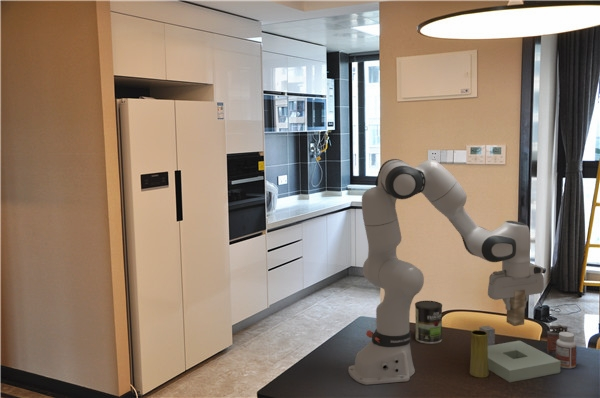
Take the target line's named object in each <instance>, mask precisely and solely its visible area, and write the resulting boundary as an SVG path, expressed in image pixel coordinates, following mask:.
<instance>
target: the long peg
mask: <svg viewBox="0 0 600 398" xmlns="http://www.w3.org/2000/svg"><path fill="white" fill-rule="evenodd" d="M509 303H510V305H513V307H512V310H506V323H508V324H510V325H512V326H513V327H516V326H524V325H525V310H526V308H525V290H520V291H514V297H512V298H510V301H509Z"/></svg>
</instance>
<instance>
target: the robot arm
mask: <svg viewBox="0 0 600 398" xmlns="http://www.w3.org/2000/svg"><path fill="white" fill-rule="evenodd" d="M378 170H379V171H378V174H377V176H376V180H375V182H374V183H375V186H373V187H371V188H367V190H366V191H365V192H363V194H362V196H361V211H362V213H361V214H362V219H363V224H364V228H365V235H366V239H367V245H368V246H367V247H368V250H367V258H366V259H365V261H364V263H363V265H362V273H363V276H364V278H365V280H367V281H369V282H370V283H371V284H372V285H373V286H375V287H377V288H380V289H383V292H384V295H383V300H382V302H380V303H379V304H378V305H377V306H376V309H375V315H376V316H375V318H376V321H375V322H376V324H375V325H376V329H375V331H374V332H373V331H371V330H367V331H366V336H367V337H368V338H370V339H371V341H369V343H367V345H365V346H364V347H363V348H362V349H361V350H358V352H357V353H356V356H355V358H354V359H355V360H354V364H353V365H350V366H348V369H347V370H348V371H347V373H348V375H350V377H351V378H352V379H353V380H354V381H356V382H357V383H360V384H361V385H367V386H369V385H377V384H389V383H402V382H409V380H410V378H411V377H412V376H413V375H414V374H415V372H416V369H415V367H414V363H413V358H412V351H411V350H412V349H411V344H412V334H411V333H412V332H411V329H410V315H411V314H410V311H411V305H412V302H413V300H414V297H415V296H416V295H418V294H419V293H420V292H421V291H422V289H423V286H424V282H425V276H424V274H423V271H422V270H421V269H419V268H418V267H417V266H416V265H414V264H412V263H410V262H408V261H404V260H401V259H399V257H398V256H397V247H398V246H399V245H400V243H402V233H401V228H400V223H399V218H398V214H397V210H396V204H397V203H396V202H397V200H408V199H410V198H412V197H414V196H415V195H419V194H420V193H421V194H423V196H424V197H425V198H426V200H427V201H428V202H429V203H430V204H431V205H432V206H433V207H434V208H435V209H437V210H438V212H439V213H441V214H442V215H443V216H444V217H445V218H447V219H448V221H449V222H450V223H451V225H452V226H453V227H454V228H455V230H456V231H457V232H458V234H459V236H461V240H462V242H463V246H464V249H466V251H467V252H468V253H469V254H470V255H472V256H474V257H478V258H480V259H482V260H485V261H486V262H489V263H499V262H501V263H502V264H501V270H498V271H492V273H491V274H490V275H489V278H488V279H489V280H488V287H487V296H488V297H489V298H490V299H492V300H494V301H496V300H502V301H503V303H504V304H505V310H506V311H507V310H512V307H513V305H510V303H509V301H510V298H512V297H514V291H520V290H525V309H526V308H527V302H529V300H530V295H531V296H532V295H537V294H542V293H543V292H544V290H545V278H544V275H543V273H544V267H542V266H539V265H537V264H535V263H532V262H531V257H530V251H531V233H530V232H531V231H530V228H529V226H528V225H527V224H526V223H524V222H520V221H514V220H506V221H504V223H503V224H502V225H500V226H499V227H498V228H495V229H492V230H491V231H490V230H488V229H486V228H484V227H482V226H479V225H478V224H477V223H476V222H475V221H474V219H473V218H472V217H471V216H470V215H469V213H468V212H467V211H466V210H465V209H466V208H464V206H465V204H466V202H467V193H466V192H465V190H464V188H463V186H462V185H461V183H460V182H459V181H458V180H457V178H456V177H455V176H454V175H453V174H452V173H451V172H450V171H449V170H448V169H447V168H445V167H444V166H443V165H442V164H441V163H439V161H437V160H434V159H428V160H424V161H423V162H421V163H420V164H419V165H417V166H411V165H410V164H409V163H407V162H406V161H403V160H401V159H399V158H391V159H389V160H386V161H385V162H384V163H382V165H381V166H380V168H379V169H378Z"/></svg>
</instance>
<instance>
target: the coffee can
mask: <svg viewBox="0 0 600 398" xmlns="http://www.w3.org/2000/svg"><path fill="white" fill-rule="evenodd" d="M414 306H415V340H416V341H417V342H419V343H421V344H427V345H430V344H431V345H435V344H439V343H441V342H442V341H443V304H442V303H441V302H439V301H435V300H419V301H416V302H415V303H414Z"/></svg>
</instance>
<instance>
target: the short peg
mask: <svg viewBox="0 0 600 398" xmlns="http://www.w3.org/2000/svg"><path fill="white" fill-rule="evenodd" d="M478 330H483V331H486V332H487V333H488V346H490V345H496V344H495V343H496V342H495V341H496V329H495V328H494V327H492V326H490V325H483V326H479V327H478Z"/></svg>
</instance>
